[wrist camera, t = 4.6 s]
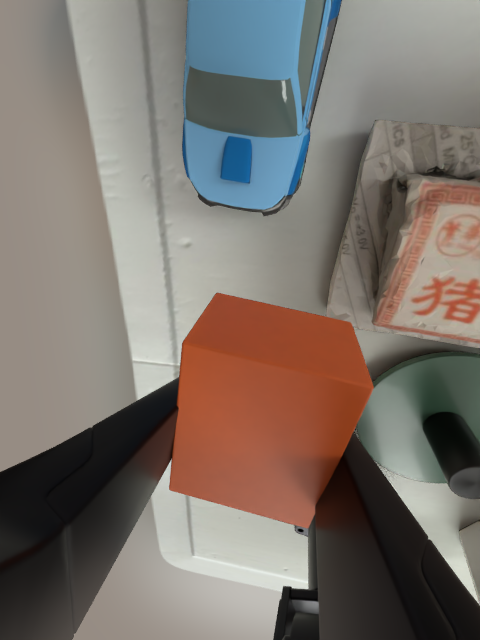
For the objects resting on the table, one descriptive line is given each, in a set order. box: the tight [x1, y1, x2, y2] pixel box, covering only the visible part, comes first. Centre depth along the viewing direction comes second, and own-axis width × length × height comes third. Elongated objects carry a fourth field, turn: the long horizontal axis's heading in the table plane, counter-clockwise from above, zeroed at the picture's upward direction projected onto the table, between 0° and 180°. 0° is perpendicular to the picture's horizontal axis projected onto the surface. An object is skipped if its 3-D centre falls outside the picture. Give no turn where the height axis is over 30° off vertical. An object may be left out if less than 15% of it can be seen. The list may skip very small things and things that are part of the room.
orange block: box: [169, 293, 374, 528], centre depth 9 cm, size 5×4×3 cm
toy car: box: [182, 0, 342, 216], centre depth 12 cm, size 6×12×6 cm, turn 172°
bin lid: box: [356, 352, 480, 499], centre depth 18 cm, size 10×10×5 cm
